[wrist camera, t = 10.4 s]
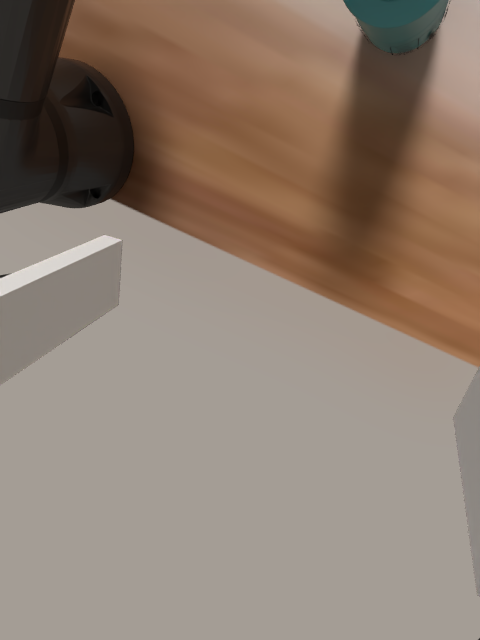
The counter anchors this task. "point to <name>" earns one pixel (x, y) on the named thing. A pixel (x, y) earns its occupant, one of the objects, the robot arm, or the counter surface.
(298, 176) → the counter surface
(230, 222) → the counter surface
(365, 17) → the beverage bottle
